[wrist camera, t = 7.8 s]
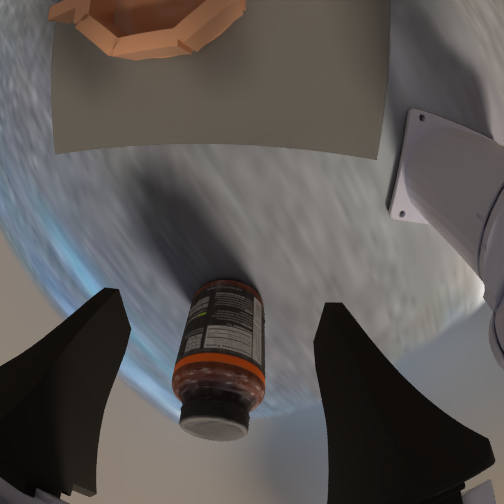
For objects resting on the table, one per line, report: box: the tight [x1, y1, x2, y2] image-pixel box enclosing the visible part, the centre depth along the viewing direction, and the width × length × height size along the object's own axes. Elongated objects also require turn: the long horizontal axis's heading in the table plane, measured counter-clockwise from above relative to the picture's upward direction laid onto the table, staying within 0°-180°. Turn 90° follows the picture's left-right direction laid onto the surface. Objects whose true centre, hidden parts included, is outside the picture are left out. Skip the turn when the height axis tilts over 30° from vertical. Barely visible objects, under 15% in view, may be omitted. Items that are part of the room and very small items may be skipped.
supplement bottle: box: [172, 279, 265, 441], centre depth 18 cm, size 6×6×11 cm
